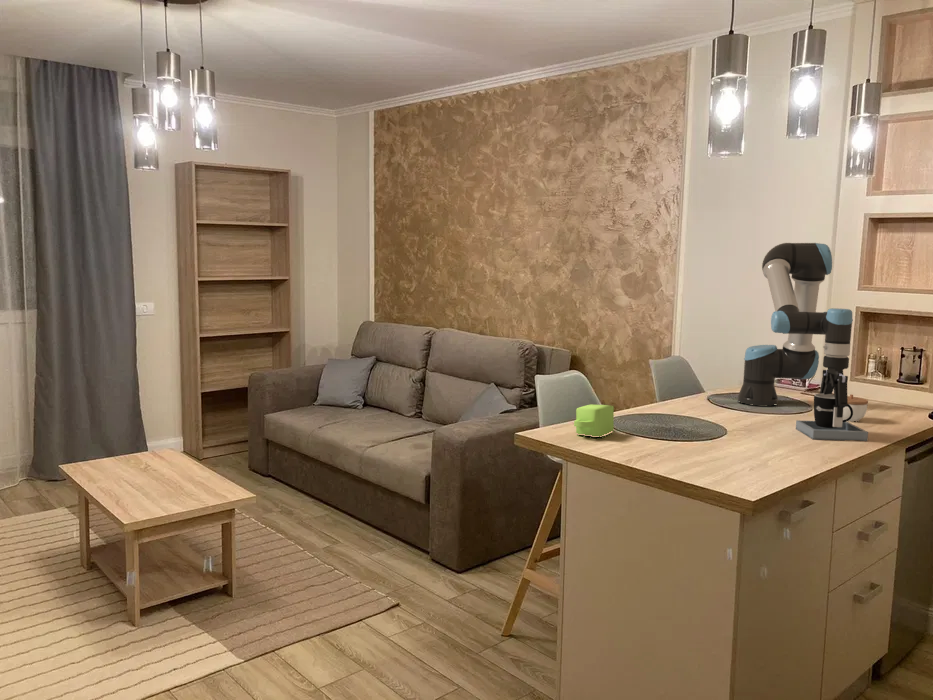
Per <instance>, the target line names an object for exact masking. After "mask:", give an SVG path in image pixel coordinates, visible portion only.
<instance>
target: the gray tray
mask: <svg viewBox="0 0 933 700" xmlns="http://www.w3.org/2000/svg"><path fill="white" fill-rule="evenodd" d="M795 430H797V431H799V433H802V434H803V435H804V436H807V437H808V438H810V439H812V440H813V441H815V440H819V441H845V440H860V441H859V442H868V437H869V431H867V430H865V429H863V428H860V427H859V426H857V425H855V424H852V423H851V422H849V421H847V422H842V427H837V428H824V427H819V426H817V425H816V423H815V420H799V419H797V420H795Z"/></svg>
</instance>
